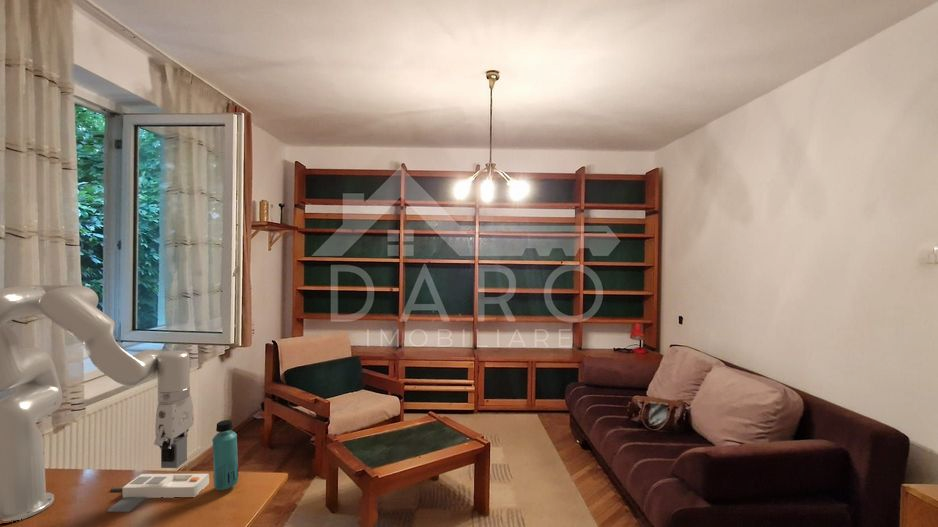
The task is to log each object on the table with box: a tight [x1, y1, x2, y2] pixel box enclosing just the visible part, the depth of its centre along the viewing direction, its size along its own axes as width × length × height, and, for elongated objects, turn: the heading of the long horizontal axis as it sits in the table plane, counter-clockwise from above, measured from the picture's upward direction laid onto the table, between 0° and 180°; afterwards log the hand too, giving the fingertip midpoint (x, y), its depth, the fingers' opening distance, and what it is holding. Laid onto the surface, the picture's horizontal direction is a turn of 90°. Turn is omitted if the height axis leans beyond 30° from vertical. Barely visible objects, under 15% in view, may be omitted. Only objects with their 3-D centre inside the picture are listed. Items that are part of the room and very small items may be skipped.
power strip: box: [110, 473, 210, 499], centre depth 122 cm, size 26×7×4 cm, turn 91°
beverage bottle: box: [211, 419, 240, 491], centre depth 123 cm, size 6×7×20 cm
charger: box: [160, 436, 188, 469], centre depth 121 cm, size 4×4×7 cm
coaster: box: [106, 497, 147, 513], centre depth 115 cm, size 6×6×1 cm
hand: (174, 456), depth 122 cm, fingers closed on charger, 4 cm apart
